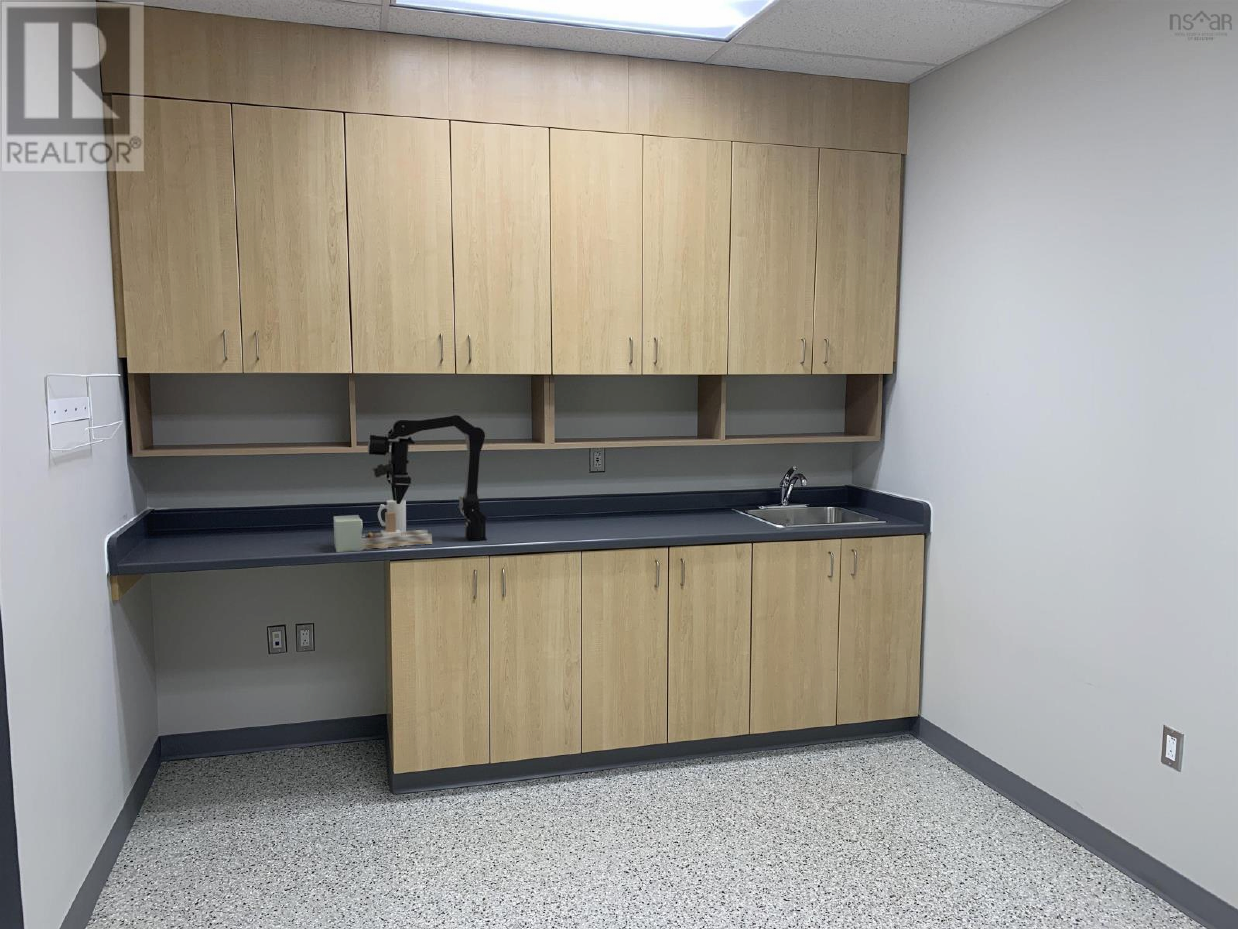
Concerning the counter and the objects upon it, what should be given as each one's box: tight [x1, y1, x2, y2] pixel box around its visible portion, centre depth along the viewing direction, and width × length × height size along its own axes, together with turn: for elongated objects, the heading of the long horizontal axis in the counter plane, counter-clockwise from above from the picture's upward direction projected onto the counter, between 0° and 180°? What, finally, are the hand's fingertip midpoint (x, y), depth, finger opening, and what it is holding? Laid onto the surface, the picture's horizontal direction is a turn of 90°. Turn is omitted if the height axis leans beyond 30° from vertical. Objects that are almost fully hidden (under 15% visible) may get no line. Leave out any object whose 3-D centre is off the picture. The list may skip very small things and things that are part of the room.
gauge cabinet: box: [333, 514, 363, 553], centre depth 279 cm, size 8×12×10 cm
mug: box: [377, 499, 407, 532], centre depth 304 cm, size 10×7×12 cm, turn 102°
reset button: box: [362, 532, 373, 538], centre depth 281 cm, size 6×5×3 cm
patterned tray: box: [361, 529, 433, 551], centre depth 285 cm, size 23×10×4 cm, turn 112°
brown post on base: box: [380, 511, 401, 537], centre depth 284 cm, size 6×6×9 cm
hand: (396, 502), depth 283 cm, fingers open, 9 cm apart
